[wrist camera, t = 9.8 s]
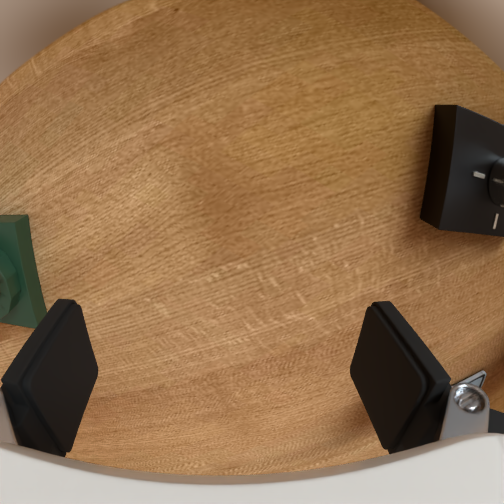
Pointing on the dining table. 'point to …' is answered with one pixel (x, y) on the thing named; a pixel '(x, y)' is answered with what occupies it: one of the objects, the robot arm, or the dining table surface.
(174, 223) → the dining table surface
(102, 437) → the dining table surface
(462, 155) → the panel
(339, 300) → the dining table surface
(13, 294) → the block
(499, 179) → the hob knob
